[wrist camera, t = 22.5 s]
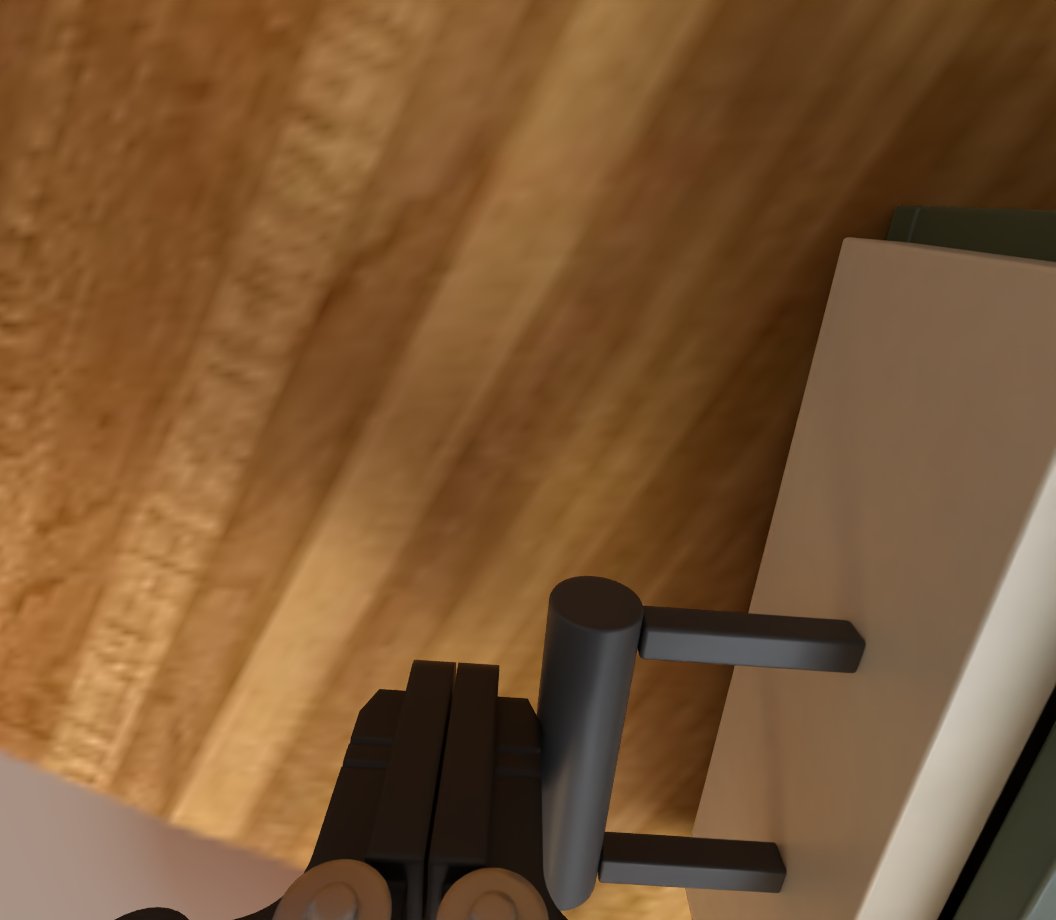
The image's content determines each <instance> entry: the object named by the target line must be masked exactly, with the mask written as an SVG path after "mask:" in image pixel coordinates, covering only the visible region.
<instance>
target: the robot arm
mask: <svg viewBox="0 0 1056 920" xmlns="http://www.w3.org/2000/svg"><path fill="white" fill-rule="evenodd" d="M455 680H456V681H455ZM498 681H499V665H488V664H473V663H458V668H457V674H456V663H455V662H440V661H426V660H414V662H413V664H412V668H411V672H410V676H409V680H408V684H407V688H406V691H400V690H385V689H379V690H378V691H377V692H376V694H375V695H374V696H373V697H372V698H371V699H370V700H369V701H368V703H367V704H366V705H365V706H364V707H363V708H362V709H361V710H360V712H359V715H358V718H357V721H356V724H355V727H354V730H353V733H352V736H351V741H350V744H349V745H348V748H347V751H346V754H345V758H344V761H343V767H341V770H340V773H339V776H338V779H337V782H336V785H335V788H334V791H333V794H332V797H331V800H330V804H329V807H328V810H327V813H326V816H325V819H324V822H323V825H322V828H321V831H320V834H319V837H318V840H317V843H316V846H315V849H314V853H313V855H312V858H311V860H310V863H309V865H308V867H307V868H306V870H305V872H304V874H303V875H302V876H300V877H299V878H298V879H297V880H296V881H295V882H294V883H293V884H292V885H291V886H290V887H289V888H288V890H287V891H286V892H285V894H284V895H283V896H282V897H281V898H280V899H279V900H277V901H276V902H274V903H273V904H271V905H270V906H268V907H266V908H264V909H263V910H260V911H258V912H256V913H253V914H251V915H248V916H245V917H242V918H238V919H235V920H568V919H567V918H566V917H565V916H564V915H563V914H562V913H561V912H560V910H559V909H558V908H557V907H556V905H555V903H554V902H553V900H552V898H551V896H550V894H549V891H548V889H547V886H546V882H545V878H544V869H543V827H542V779H541V731H540V721H539V719H538V717H537V716H536V714H535V712H534V710H533V708H532V706H531V704H530V702H529V700H528V699H525V698H510V697H498ZM115 920H189V919H188V918H187V917H186V916H185V915H183V914H181V913H180V912H178V911H175V910H172V909H169V908H161V907H155V908H146V909H141V910H137V911H134V912H131V913H128V914H126V915H123V916H121V917H119V918H117V919H115Z"/></svg>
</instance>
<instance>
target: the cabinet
mask: <svg viewBox="0 0 1056 920" xmlns="http://www.w3.org/2000/svg"><path fill="white" fill-rule="evenodd" d="M886 240H887V241H898V242H910V243H917V244H925V245H932V246H940V247H947V248H954V249H962V250H969V251H977V252H984V253H992V254H999V255H1007V256H1014V257H1021V258H1029V259H1036V260H1044V261H1051V262H1056V210H1032V209H1004V208H975V207H947V206H919V205H900V206H897V207H896V209H895V211H894V214H893V218H892V221H891V225H890V229H889V232H888V236H887V239H886ZM952 920H1056V721H1055V723H1054V725H1053V726H1052V728H1051V730H1050V732H1049V734H1048V736H1047V738H1046V740H1045V742H1044V744H1043V746H1042V748H1041V750H1040V752H1039V753H1038V755H1037V757H1036V759H1035V761H1034V763H1033V765H1032V767H1031V769H1030V771H1029V773H1028V775H1027V777H1026V778H1025V780H1024V782H1023V784H1022V786H1021V788H1020V790H1019V792H1018V794H1017V796H1016V798H1015V800H1014V802H1013V804H1012V805H1011V807H1010V809H1009V811H1008V813H1007V815H1006V817H1005V819H1004V821H1003V823H1002V825H1001V827H1000V829H999V830H998V832H997V834H996V836H995V838H994V840H993V842H992V844H991V846H990V848H989V850H988V852H987V854H986V856H985V857H984V859H983V861H982V863H981V865H980V867H979V869H978V871H977V873H976V875H975V877H974V879H973V881H972V882H971V884H970V886H969V888H968V890H967V892H966V894H965V896H964V898H963V900H962V902H961V904H960V906H959V908H958V909H957V911H956V913H955V915H954V917H953V919H952Z"/></svg>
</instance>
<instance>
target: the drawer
mask: <svg viewBox="0 0 1056 920" xmlns="http://www.w3.org/2000/svg"><path fill="white" fill-rule="evenodd" d="M637 648H638V652H639V655H640V657H641V658H643V659H651V660H665V661H680V662H694V663H709V664H724V665H735V667H734V671H733V675H732V679H731V683H730V686H729V690H728V694H727V698H726V702H725V706H724V710H723V714H722V718H721V722H720V726H719V730H718V734H717V737H716V741H715V745H714V749H713V753H712V757H711V761H710V765H709V769H708V773H707V777H706V781H705V785H704V788H703V792H702V796H701V800H700V804H699V808H698V812H697V816H696V820H695V824H694V828H693V832H692V836H691V837H681V836H665V835H649V834H633V833H617V832H605V827H606V821H607V815H608V810H609V804H610V799H611V793H612V787H613V782H614V776H615V771H616V765H617V760H618V754H619V748H620V743H621V737H622V732H623V726H624V720H625V715H626V709H627V704H628V698H629V692H630V687H631V681H632V676H633V670H634V664H635V659H636V653H637ZM537 717H538V719H539V721H540V731H541V779H542V827H543V869H544V878H545V882H546V886H547V889H548V891H549V894H550V896H551V898H552V900H553V902H554V903H555V905H556V907H557V908H558V909H559V910H560V911H564V910H570V909H574V908H576V907H578V906H580V905H581V904H583V903H584V902H585V901H586V900H587V899H588V898H589V897H590V895H591V893H592V892H593V889H594V886H595V882H596V877H597V871H598V879H599V881H600V882H601V883H617V884H633V885H650V886H666V887H683V888H685V890H686V894H687V899H688V903H689V908H690V913H691V917H692V920H952V919H953V917H954V915H955V913H956V911H957V909H958V908H959V906H960V904H961V902H962V900H963V898H964V896H965V894H966V892H967V890H968V888H969V886H970V884H971V882H972V881H973V879H974V877H975V875H976V873H977V871H978V869H979V867H980V865H981V863H982V861H983V859H984V857H985V856H986V854H987V852H988V850H989V848H990V846H991V844H992V842H993V840H994V838H995V836H996V834H997V832H998V830H999V829H1000V827H1001V825H1002V823H1003V821H1004V819H1005V817H1006V815H1007V813H1008V811H1009V809H1010V807H1011V805H1012V804H1013V802H1014V800H1015V798H1016V796H1017V794H1018V792H1019V790H1020V788H1021V786H1022V784H1023V782H1024V780H1025V778H1026V777H1027V775H1028V773H1029V771H1030V769H1031V767H1032V765H1033V763H1034V761H1035V759H1036V757H1037V755H1038V753H1039V752H1040V750H1041V748H1042V746H1043V744H1044V742H1045V740H1046V738H1047V736H1048V734H1049V732H1050V730H1051V728H1052V726H1053V725H1054V723H1055V721H1056V262H1051V261H1044V260H1036V259H1029V258H1021V257H1014V256H1007V255H999V254H992V253H984V252H977V251H969V250H962V249H954V248H947V247H940V246H932V245H925V244H917V243H910V242H898V241H887V240H875V239H863V238H851V237H847V238H845V239H844V240H843V243H842V247H841V251H840V255H839V259H838V263H837V267H836V271H835V275H834V278H833V282H832V286H831V290H830V294H829V298H828V302H827V306H826V310H825V314H824V318H823V322H822V326H821V329H820V333H819V337H818V341H817V345H816V349H815V353H814V357H813V361H812V365H811V369H810V373H809V377H808V380H807V384H806V388H805V392H804V396H803V400H802V404H801V408H800V412H799V416H798V420H797V424H796V428H795V431H794V435H793V439H792V443H791V447H790V451H789V455H788V459H787V463H786V467H785V471H784V475H783V479H782V482H781V486H780V490H779V494H778V498H777V502H776V506H775V510H774V514H773V518H772V522H771V526H770V530H769V533H768V537H767V541H766V545H765V549H764V553H763V557H762V561H761V565H760V569H759V573H758V577H757V581H756V584H755V588H754V592H753V596H752V600H751V604H750V608H749V612H748V613H739V612H725V611H711V610H697V609H682V608H668V607H654V606H643V605H642V602H641V600H640V599H639V597H638V596H637V595H636V594H635V593H634V592H633V591H632V590H631V589H629V588H628V587H626V586H625V585H623V584H621V583H619V582H616V581H613V580H610V579H607V578H602V577H596V576H579V577H573V578H569V579H566V580H564V581H562V582H560V583H559V584H558V585H556V586H555V588H554V589H553V590H552V592H551V594H550V597H549V607H548V616H547V625H546V634H545V643H544V652H543V662H542V671H541V680H540V689H539V698H538V707H537Z"/></svg>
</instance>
